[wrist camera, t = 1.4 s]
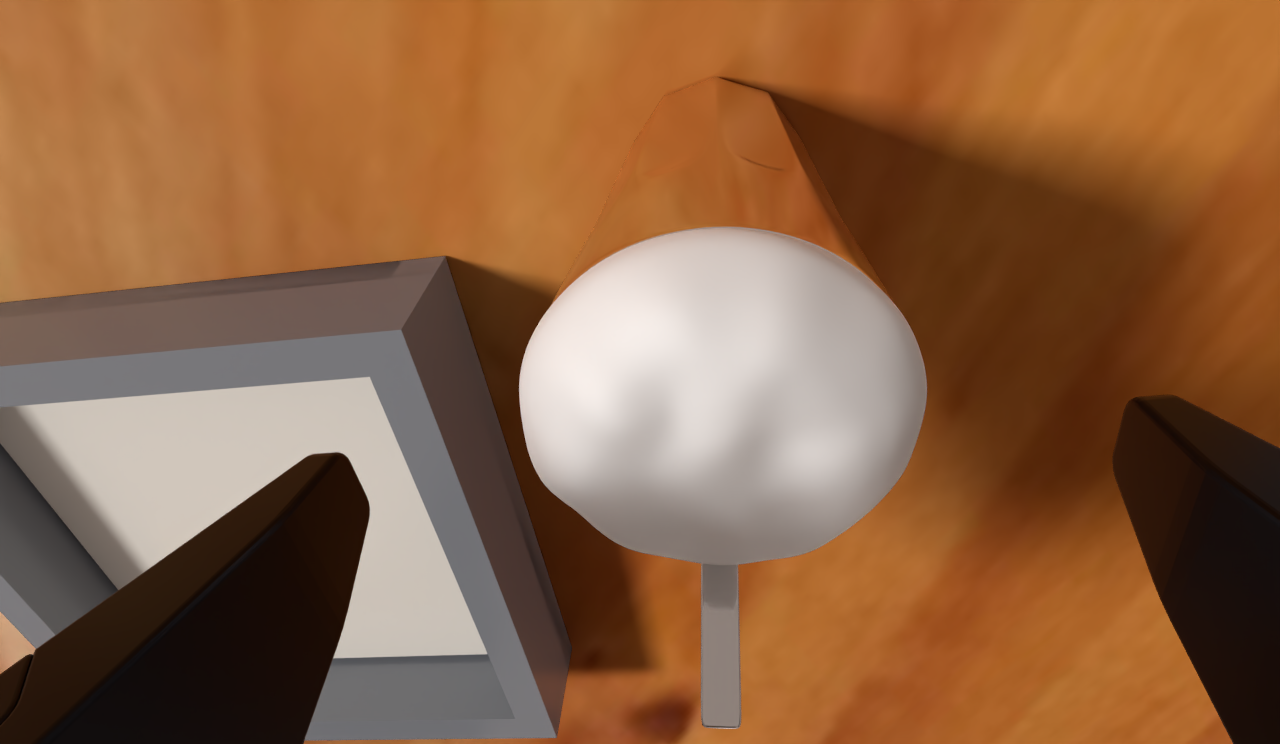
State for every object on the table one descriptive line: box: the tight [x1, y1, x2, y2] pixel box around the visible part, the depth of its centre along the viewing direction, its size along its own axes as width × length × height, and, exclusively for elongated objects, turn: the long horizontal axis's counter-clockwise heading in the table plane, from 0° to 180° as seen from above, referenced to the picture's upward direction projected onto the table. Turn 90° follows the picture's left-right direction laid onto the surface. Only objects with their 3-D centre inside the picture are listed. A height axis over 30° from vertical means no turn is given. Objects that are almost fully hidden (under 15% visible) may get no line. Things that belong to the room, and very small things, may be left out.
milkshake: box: [519, 77, 927, 729], centre depth 12 cm, size 4×5×10 cm
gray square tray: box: [0, 256, 572, 740], centre depth 21 cm, size 14×14×3 cm
